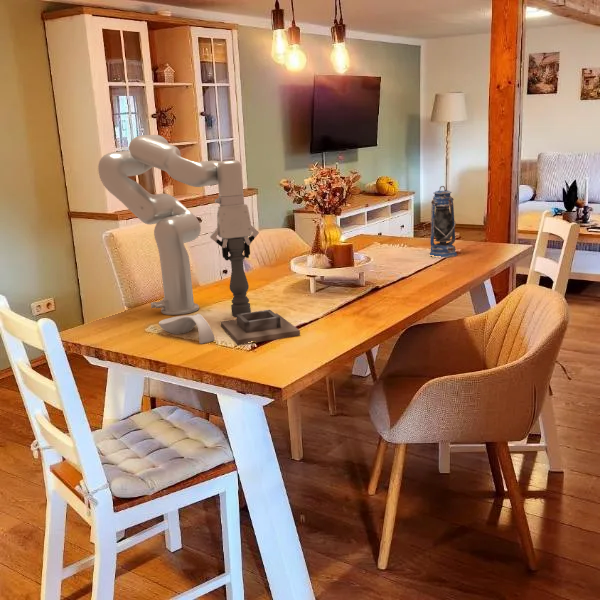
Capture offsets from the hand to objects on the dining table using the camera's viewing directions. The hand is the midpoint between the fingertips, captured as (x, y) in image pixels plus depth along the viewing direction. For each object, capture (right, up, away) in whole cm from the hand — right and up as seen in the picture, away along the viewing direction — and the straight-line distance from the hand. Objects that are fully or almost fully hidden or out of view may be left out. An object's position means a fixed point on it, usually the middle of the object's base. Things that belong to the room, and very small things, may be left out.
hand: (236, 258), depth 218 cm
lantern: (+83, +6, +84) cm, 118 cm away
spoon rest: (-13, -24, -14) cm, 31 cm away
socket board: (+8, -22, -15) cm, 28 cm away
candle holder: (+1, -18, +4) cm, 19 cm away
